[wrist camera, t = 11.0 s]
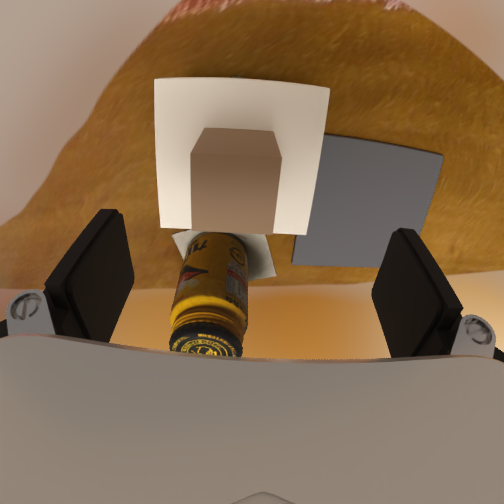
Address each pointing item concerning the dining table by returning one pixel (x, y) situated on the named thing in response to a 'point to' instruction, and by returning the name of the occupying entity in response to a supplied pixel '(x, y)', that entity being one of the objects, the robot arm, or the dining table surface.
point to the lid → (237, 153)
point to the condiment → (216, 290)
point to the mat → (365, 200)
